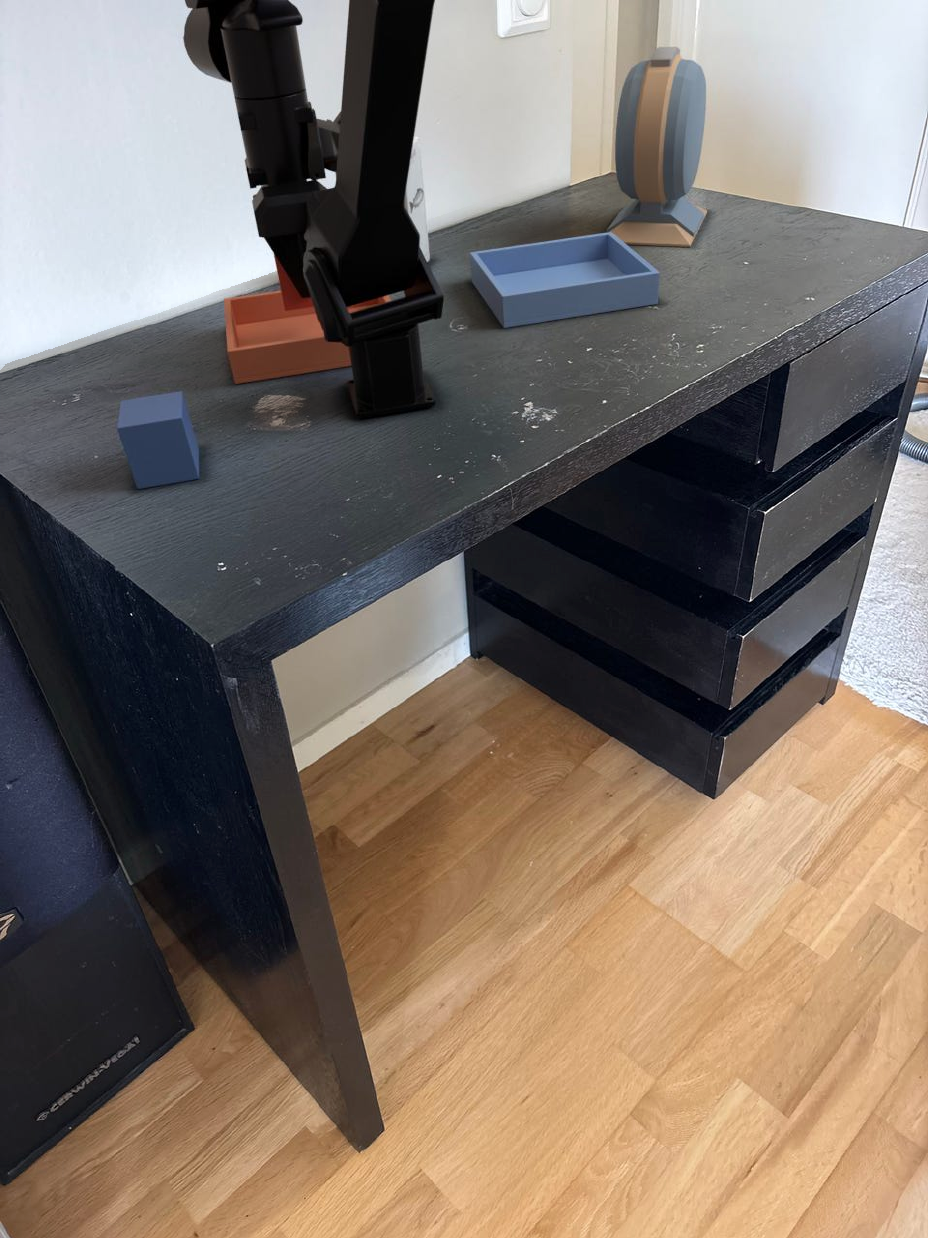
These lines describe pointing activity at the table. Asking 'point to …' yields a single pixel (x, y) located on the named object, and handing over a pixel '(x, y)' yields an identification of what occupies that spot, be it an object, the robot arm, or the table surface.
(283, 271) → the red block
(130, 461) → the blue block
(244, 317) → the red tray
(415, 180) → the white packaging box
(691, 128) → the blue rounded upright piece
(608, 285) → the blue tray
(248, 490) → the table surface
